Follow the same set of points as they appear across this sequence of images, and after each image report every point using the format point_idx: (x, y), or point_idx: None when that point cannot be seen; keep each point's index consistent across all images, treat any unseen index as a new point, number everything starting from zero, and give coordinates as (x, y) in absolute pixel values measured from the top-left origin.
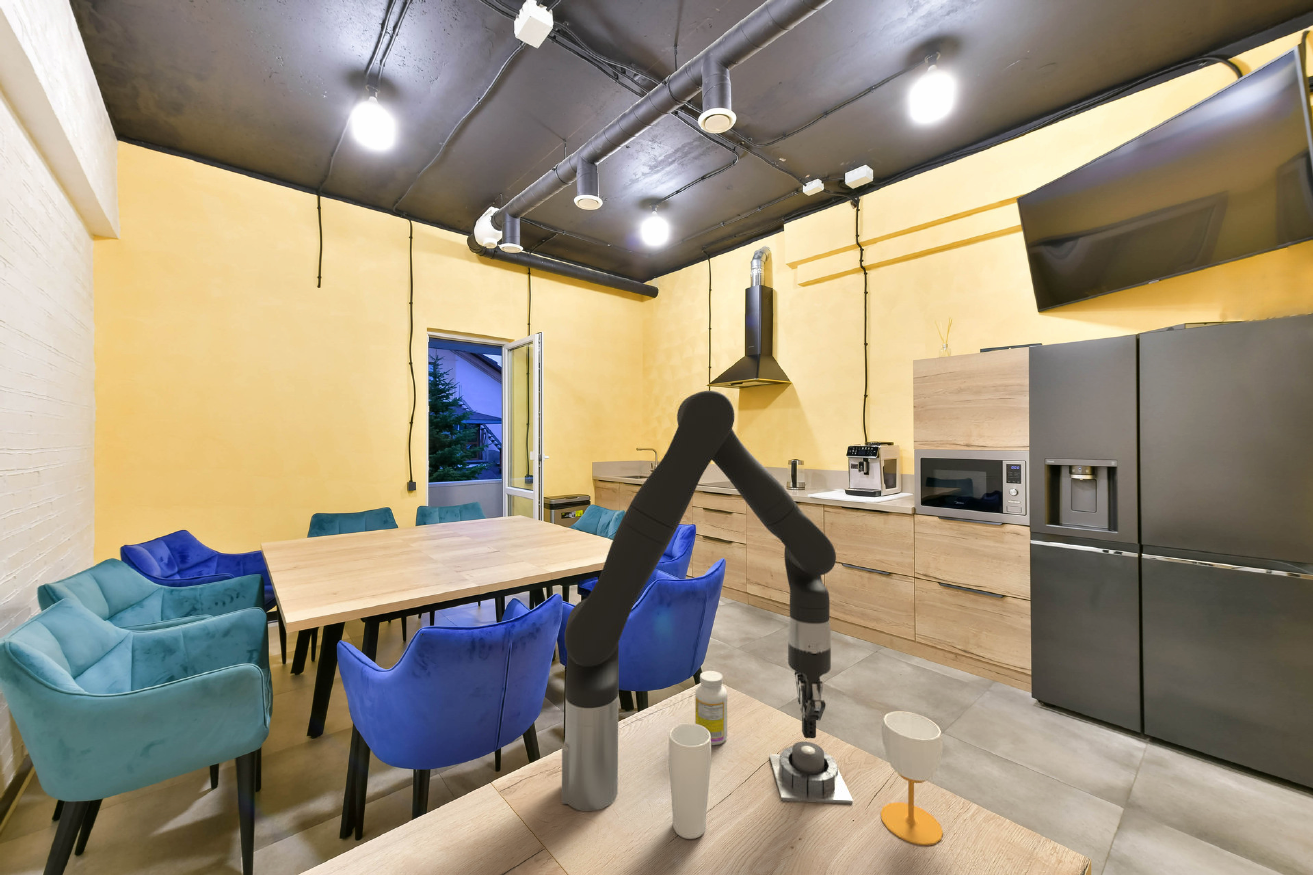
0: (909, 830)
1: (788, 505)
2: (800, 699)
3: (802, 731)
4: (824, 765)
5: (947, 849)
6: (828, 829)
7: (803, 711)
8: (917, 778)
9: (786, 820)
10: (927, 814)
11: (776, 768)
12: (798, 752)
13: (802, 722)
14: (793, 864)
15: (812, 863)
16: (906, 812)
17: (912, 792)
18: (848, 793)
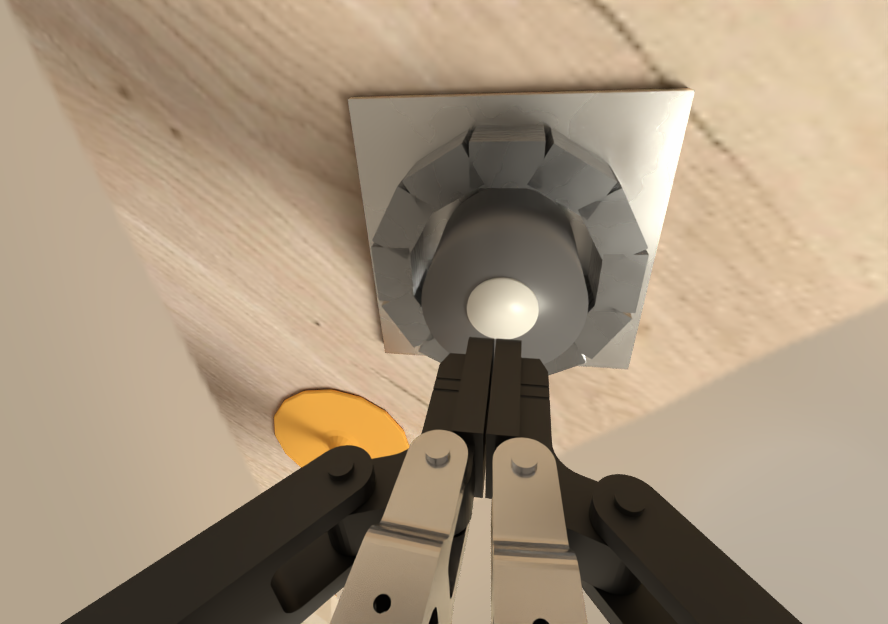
0: (309, 429)
1: None
2: (418, 575)
3: (504, 344)
4: None
5: (282, 464)
6: (254, 242)
7: (434, 474)
8: None
9: (245, 96)
10: None
11: (558, 111)
12: (483, 256)
13: (500, 387)
14: (52, 81)
15: (91, 151)
16: (372, 448)
17: None
18: (415, 352)
